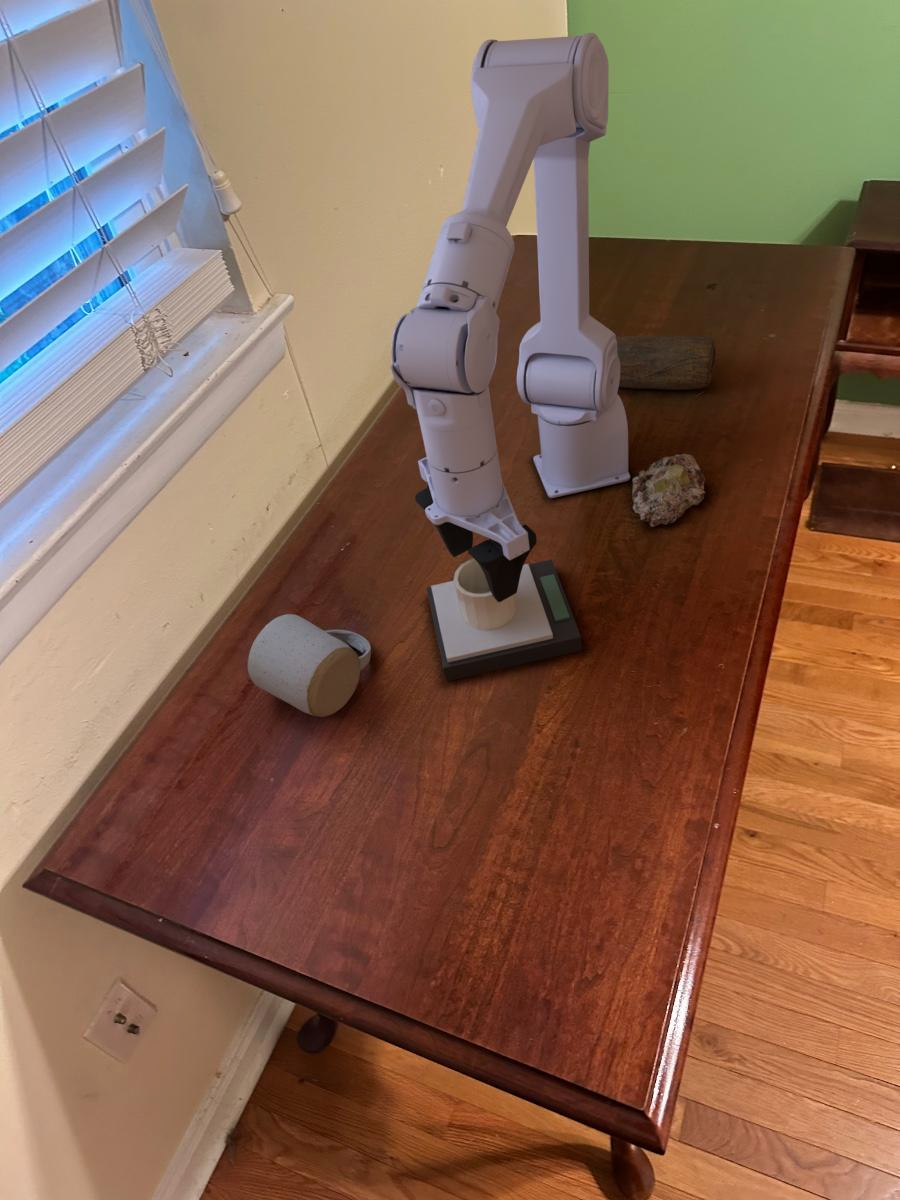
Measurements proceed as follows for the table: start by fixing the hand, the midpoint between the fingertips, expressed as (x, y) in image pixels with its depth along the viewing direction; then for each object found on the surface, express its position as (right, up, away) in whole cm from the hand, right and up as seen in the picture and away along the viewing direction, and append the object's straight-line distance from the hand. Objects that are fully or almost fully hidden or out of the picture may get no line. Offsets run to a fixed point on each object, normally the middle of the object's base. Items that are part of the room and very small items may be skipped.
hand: (482, 572), depth 78 cm
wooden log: (+23, +25, +30) cm, 45 cm away
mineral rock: (+20, +8, +15) cm, 27 cm away
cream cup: (+1, -3, +3) cm, 5 cm away
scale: (+2, -5, +5) cm, 8 cm away
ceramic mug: (-15, -10, +4) cm, 19 cm away
